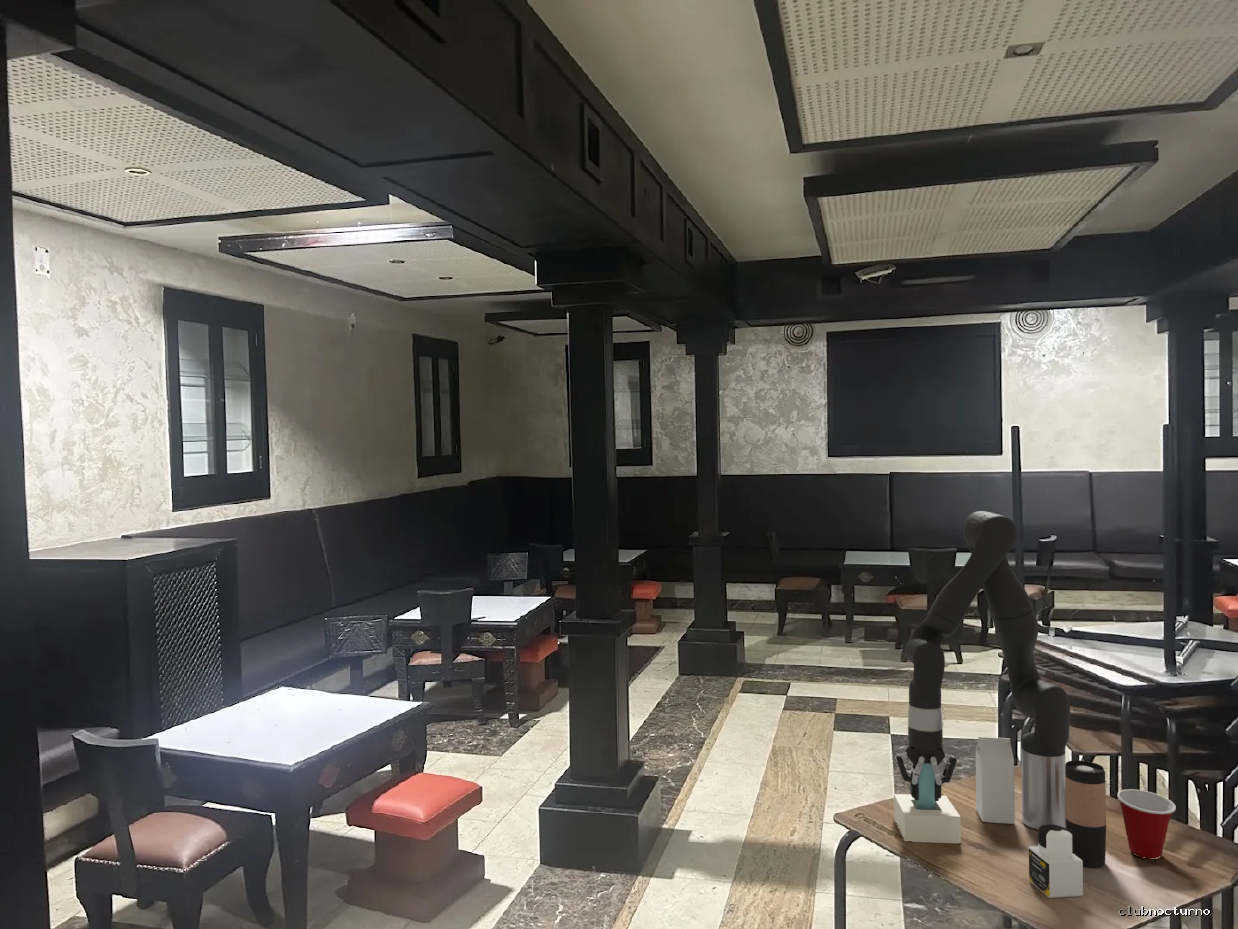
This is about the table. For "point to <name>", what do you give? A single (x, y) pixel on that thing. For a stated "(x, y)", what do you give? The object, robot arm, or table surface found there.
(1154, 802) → the plastic cup
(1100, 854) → the travel mug
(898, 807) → the socket block
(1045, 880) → the medicine bottle
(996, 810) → the milk carton
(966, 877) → the table surface
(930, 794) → the peg
